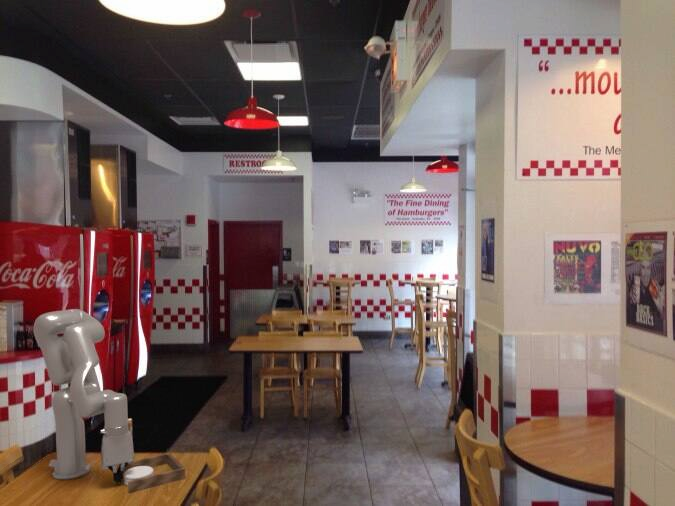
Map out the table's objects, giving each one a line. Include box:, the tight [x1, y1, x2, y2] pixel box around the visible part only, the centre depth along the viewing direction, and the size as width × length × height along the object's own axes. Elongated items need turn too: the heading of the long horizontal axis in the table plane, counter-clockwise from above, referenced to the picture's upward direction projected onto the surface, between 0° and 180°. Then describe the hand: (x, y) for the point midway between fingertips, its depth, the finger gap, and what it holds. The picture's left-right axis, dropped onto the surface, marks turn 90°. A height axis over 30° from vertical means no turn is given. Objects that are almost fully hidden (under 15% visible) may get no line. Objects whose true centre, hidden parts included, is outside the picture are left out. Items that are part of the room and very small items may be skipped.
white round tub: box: [123, 466, 155, 487], centre depth 197 cm, size 10×10×4 cm
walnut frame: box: [116, 452, 186, 494], centre depth 200 cm, size 19×18×4 cm
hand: (118, 481), depth 194 cm, fingers closed
